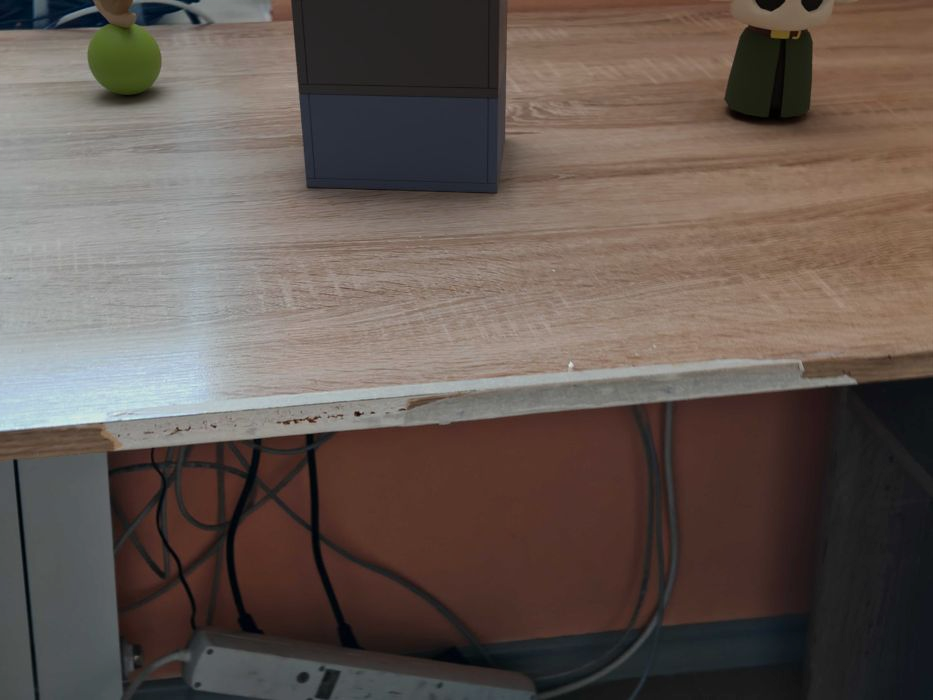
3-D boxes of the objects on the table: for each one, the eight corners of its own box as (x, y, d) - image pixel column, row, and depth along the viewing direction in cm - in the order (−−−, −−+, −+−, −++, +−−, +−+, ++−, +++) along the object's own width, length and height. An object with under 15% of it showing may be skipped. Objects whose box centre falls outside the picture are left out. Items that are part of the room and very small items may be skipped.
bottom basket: (306, 187, 68) (298, 93, 65) (335, 132, 77) (330, 48, 73) (497, 193, 67) (498, 98, 64) (505, 137, 76) (506, 51, 73)
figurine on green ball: (135, 76, 88) (110, -81, 82) (180, 92, 84) (157, -70, 78) (74, 90, 85) (43, -71, 79) (117, 109, 81) (88, -60, 75)
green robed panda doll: (697, 126, 78) (719, -65, 71) (686, 95, 84) (704, -84, 77) (851, 129, 77) (888, -64, 70) (829, 97, 83) (860, -82, 76)
